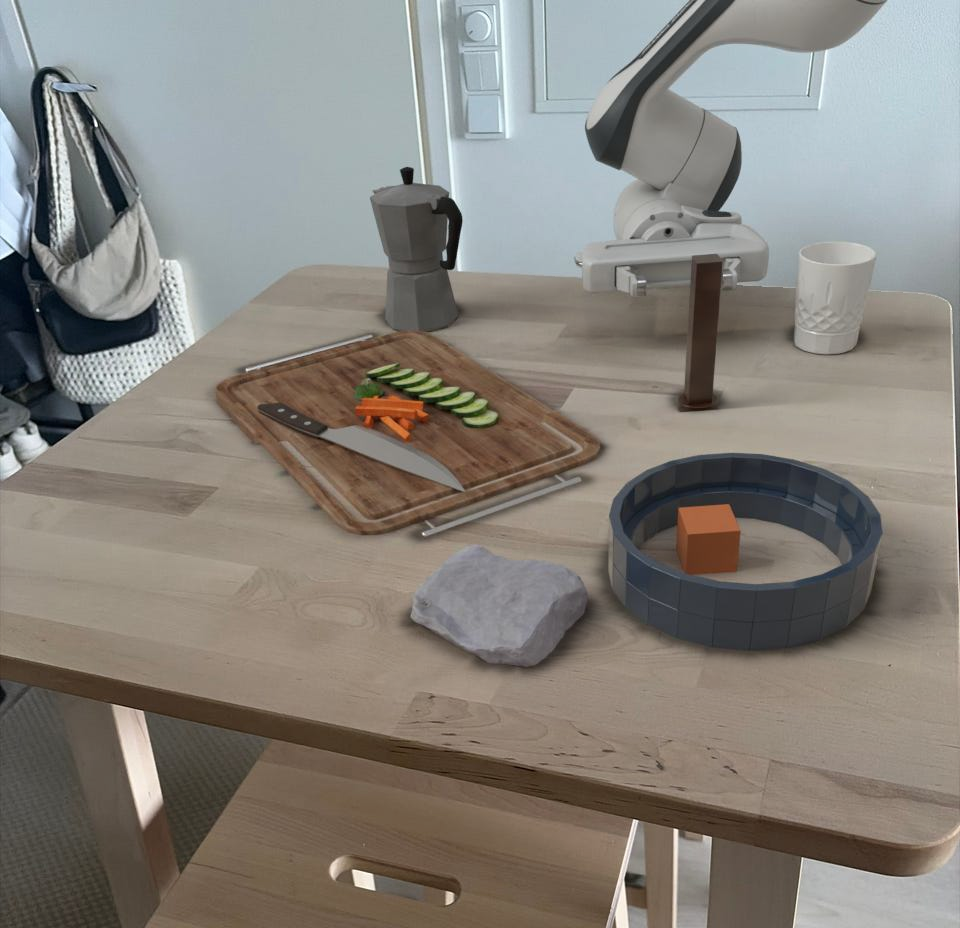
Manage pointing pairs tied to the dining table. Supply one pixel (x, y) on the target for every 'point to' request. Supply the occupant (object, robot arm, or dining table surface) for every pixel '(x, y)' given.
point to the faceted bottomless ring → (741, 606)
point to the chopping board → (401, 429)
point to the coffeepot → (418, 252)
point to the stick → (702, 334)
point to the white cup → (831, 295)
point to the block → (707, 539)
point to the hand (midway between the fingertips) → (684, 286)
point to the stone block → (500, 605)
